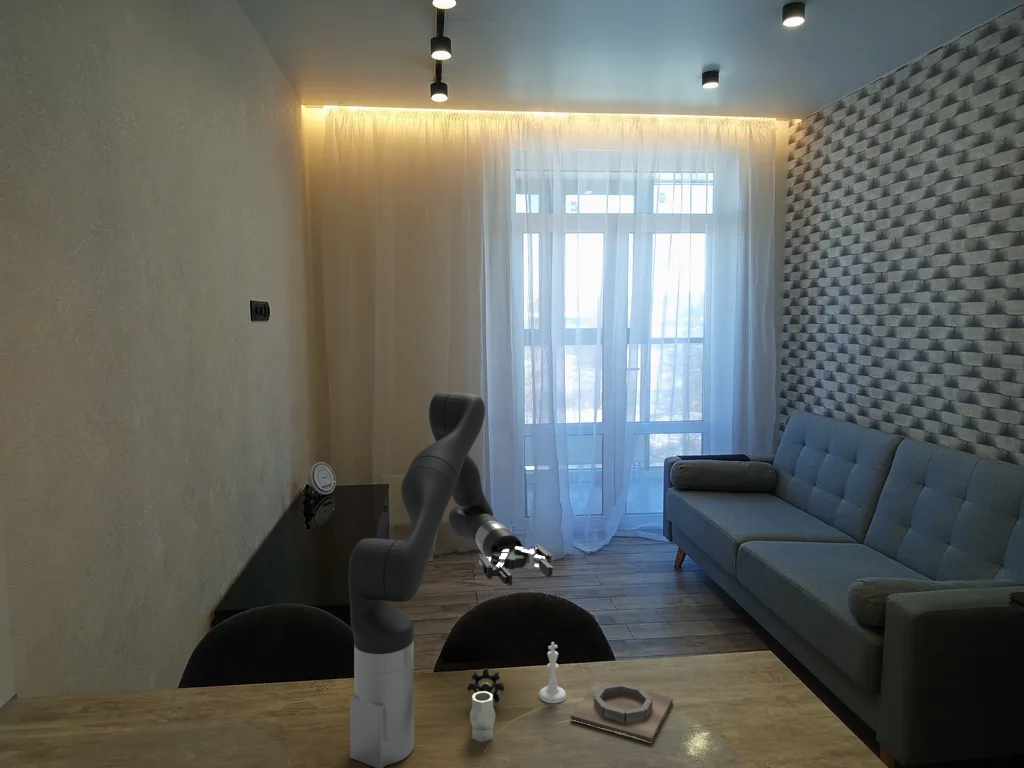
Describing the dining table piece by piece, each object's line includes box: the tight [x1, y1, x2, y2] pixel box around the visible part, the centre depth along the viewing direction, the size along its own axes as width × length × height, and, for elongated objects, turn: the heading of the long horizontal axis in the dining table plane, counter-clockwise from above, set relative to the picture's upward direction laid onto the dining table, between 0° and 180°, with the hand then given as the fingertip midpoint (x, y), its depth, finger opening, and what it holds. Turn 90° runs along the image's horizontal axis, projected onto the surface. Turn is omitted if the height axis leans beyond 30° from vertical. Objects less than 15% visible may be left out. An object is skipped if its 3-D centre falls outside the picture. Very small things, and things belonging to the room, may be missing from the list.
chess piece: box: [539, 641, 567, 704], centre depth 117 cm, size 5×5×10 cm
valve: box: [466, 667, 505, 743], centre depth 108 cm, size 7×7×12 cm
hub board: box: [569, 679, 674, 743], centre depth 111 cm, size 14×14×2 cm
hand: (530, 577), depth 124 cm, fingers open, 8 cm apart
